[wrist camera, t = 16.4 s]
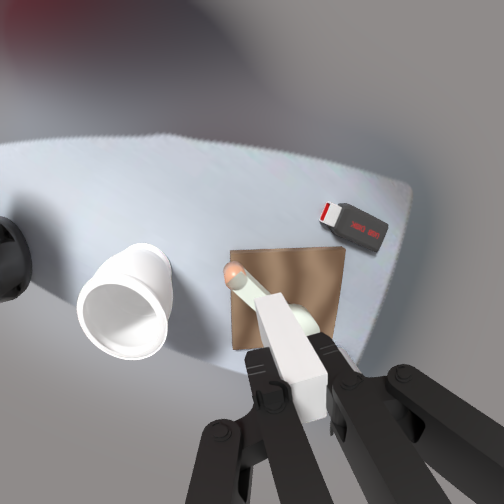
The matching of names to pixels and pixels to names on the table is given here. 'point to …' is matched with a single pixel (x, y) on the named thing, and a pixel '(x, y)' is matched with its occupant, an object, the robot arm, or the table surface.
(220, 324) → the table surface
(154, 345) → the jar
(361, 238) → the usb drive
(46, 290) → the table surface
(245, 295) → the tan-tipped lever stick
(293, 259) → the base plate
